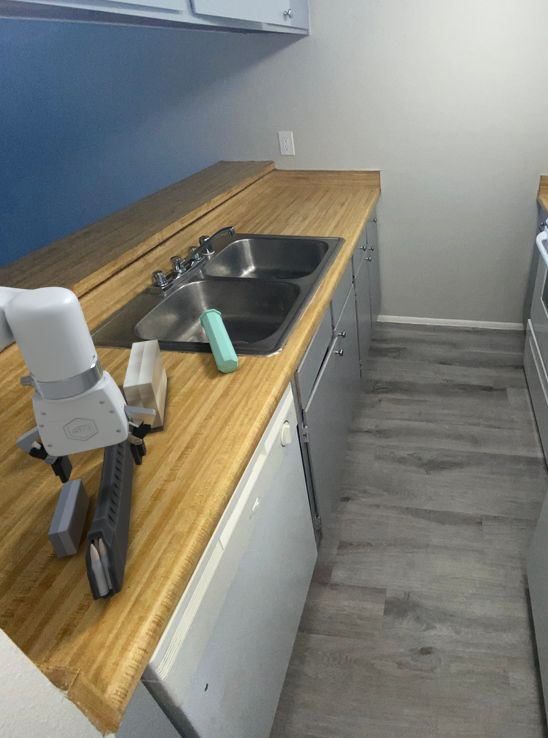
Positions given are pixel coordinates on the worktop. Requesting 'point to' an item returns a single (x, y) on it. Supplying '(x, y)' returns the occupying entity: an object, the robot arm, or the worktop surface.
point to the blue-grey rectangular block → (69, 518)
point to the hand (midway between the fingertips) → (104, 467)
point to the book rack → (146, 382)
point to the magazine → (110, 523)
